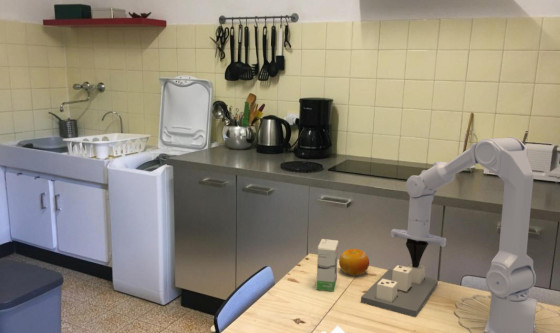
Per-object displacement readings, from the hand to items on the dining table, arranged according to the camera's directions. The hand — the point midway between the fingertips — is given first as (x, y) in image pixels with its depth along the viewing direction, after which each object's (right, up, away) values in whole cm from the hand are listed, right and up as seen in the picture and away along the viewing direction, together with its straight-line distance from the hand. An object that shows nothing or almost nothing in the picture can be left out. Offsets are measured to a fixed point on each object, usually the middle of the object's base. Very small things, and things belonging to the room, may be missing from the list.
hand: (415, 266), depth 131 cm
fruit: (-16, -4, +9) cm, 18 cm away
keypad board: (-5, -6, -5) cm, 9 cm away
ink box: (-25, -5, 0) cm, 25 cm away
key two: (-5, -4, -5) cm, 8 cm away
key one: (0, -5, +1) cm, 5 cm away
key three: (-10, -7, -10) cm, 16 cm away
